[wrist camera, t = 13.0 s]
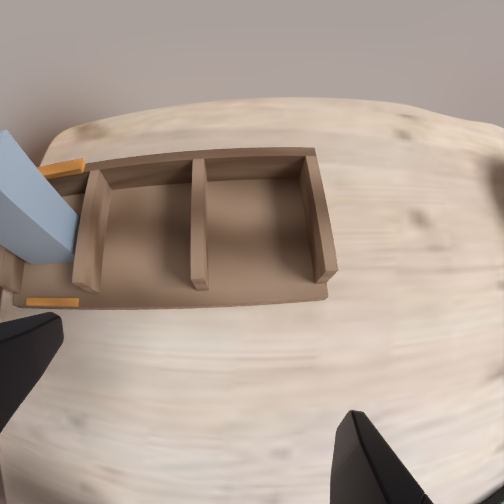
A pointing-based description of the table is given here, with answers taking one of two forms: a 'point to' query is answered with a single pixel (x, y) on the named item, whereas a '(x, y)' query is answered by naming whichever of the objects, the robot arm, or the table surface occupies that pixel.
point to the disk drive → (495, 498)
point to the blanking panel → (33, 211)
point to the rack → (186, 233)
